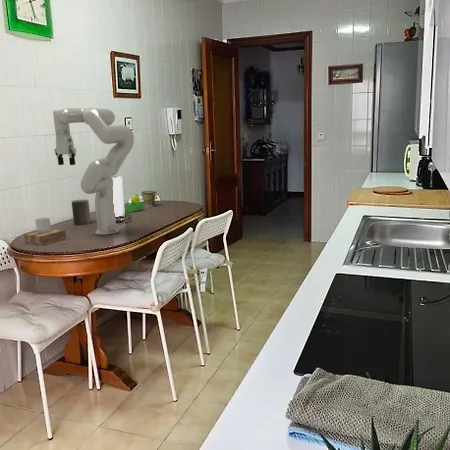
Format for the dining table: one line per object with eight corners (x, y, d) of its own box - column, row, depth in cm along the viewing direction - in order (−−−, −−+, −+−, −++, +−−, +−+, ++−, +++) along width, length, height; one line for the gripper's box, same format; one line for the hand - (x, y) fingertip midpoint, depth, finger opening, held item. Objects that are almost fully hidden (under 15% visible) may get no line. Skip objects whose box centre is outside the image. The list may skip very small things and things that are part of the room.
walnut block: (66, 239, 255) (65, 230, 254) (43, 246, 244) (42, 236, 243) (48, 237, 263) (47, 228, 261) (25, 244, 251) (24, 234, 250)
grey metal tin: (51, 231, 253) (49, 218, 251) (42, 233, 249) (40, 220, 247) (46, 230, 256) (44, 217, 254) (37, 232, 252) (35, 219, 251)
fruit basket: (137, 209, 329) (135, 192, 327) (146, 210, 323) (144, 193, 321) (123, 212, 321) (121, 195, 319) (132, 213, 315) (130, 195, 313)
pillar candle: (74, 226, 286) (71, 200, 283) (73, 223, 295) (70, 198, 292) (92, 224, 290) (89, 198, 286) (89, 221, 299) (87, 196, 295)
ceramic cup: (139, 207, 337) (137, 192, 334) (149, 204, 344) (148, 190, 342) (152, 208, 329) (151, 193, 327) (163, 205, 337) (162, 191, 334)
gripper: (79, 132, 265) (82, 164, 268) (58, 133, 274) (62, 164, 278) (67, 133, 259) (71, 165, 262) (47, 134, 268) (51, 165, 272)
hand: (66, 164), depth 270 cm, fingers open, 9 cm apart
